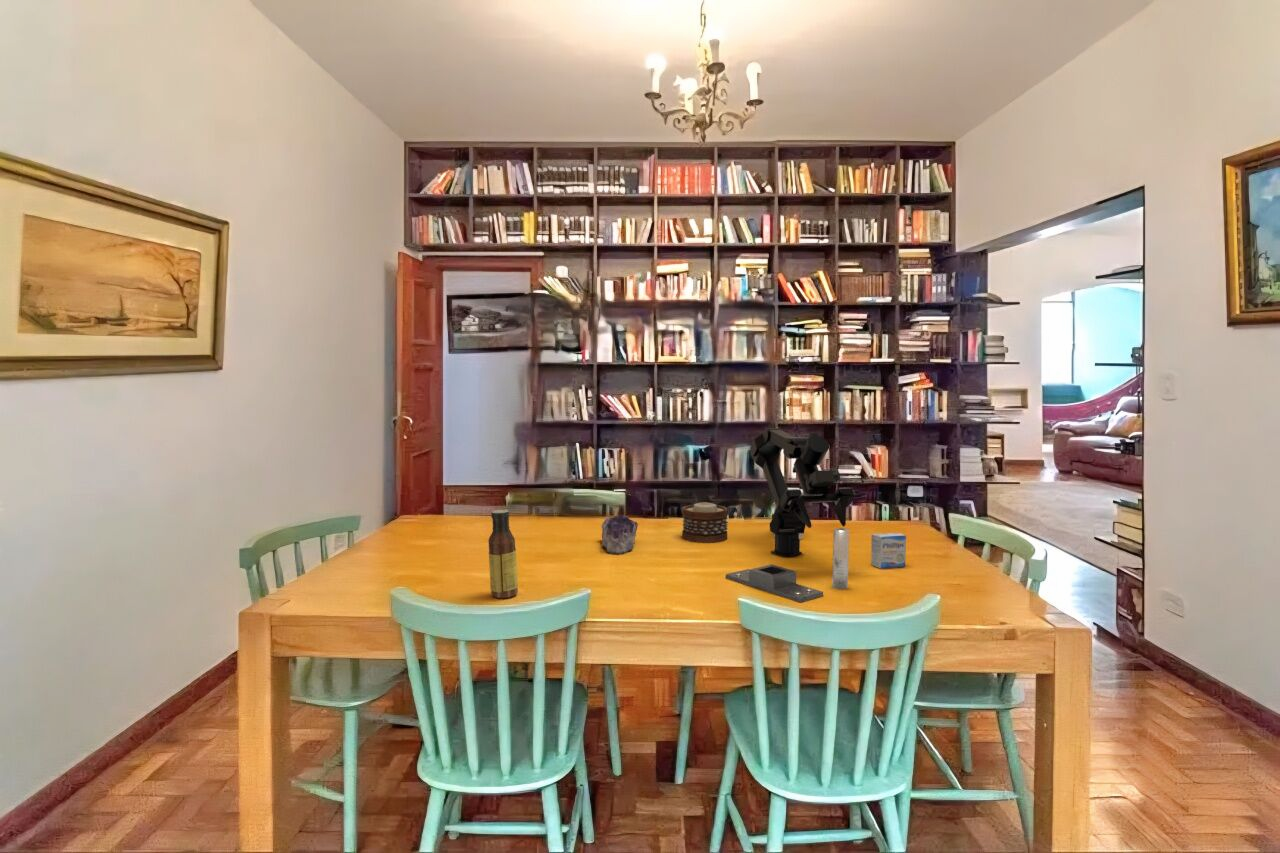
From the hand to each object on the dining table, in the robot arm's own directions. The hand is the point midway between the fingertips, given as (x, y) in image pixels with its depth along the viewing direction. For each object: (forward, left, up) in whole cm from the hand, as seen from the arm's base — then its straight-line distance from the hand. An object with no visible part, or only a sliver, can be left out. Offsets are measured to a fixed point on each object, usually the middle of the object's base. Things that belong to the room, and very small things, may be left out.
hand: (827, 526), depth 177 cm
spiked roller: (-51, +6, -14) cm, 54 cm away
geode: (-58, -22, -14) cm, 64 cm away
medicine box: (+3, +23, -14) cm, 27 cm away
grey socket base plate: (-3, -16, -13) cm, 21 cm away
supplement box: (-37, +29, -14) cm, 49 cm away
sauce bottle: (-36, -71, -13) cm, 81 cm away
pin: (+7, -3, -13) cm, 15 cm away
